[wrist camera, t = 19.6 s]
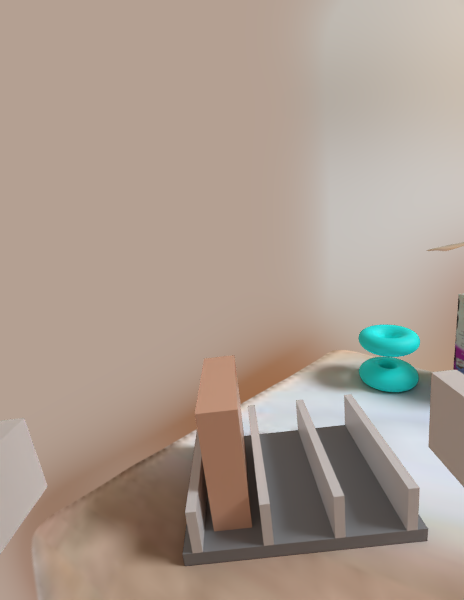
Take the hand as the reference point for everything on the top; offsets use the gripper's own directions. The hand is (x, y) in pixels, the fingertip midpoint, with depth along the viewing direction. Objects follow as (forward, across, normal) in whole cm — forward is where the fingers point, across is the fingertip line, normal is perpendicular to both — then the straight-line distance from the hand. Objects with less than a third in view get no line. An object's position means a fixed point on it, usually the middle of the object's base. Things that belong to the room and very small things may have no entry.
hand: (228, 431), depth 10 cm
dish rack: (+22, +4, -26) cm, 34 cm away
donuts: (+44, +27, -26) cm, 58 cm away
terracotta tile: (+22, -3, -24) cm, 33 cm away
